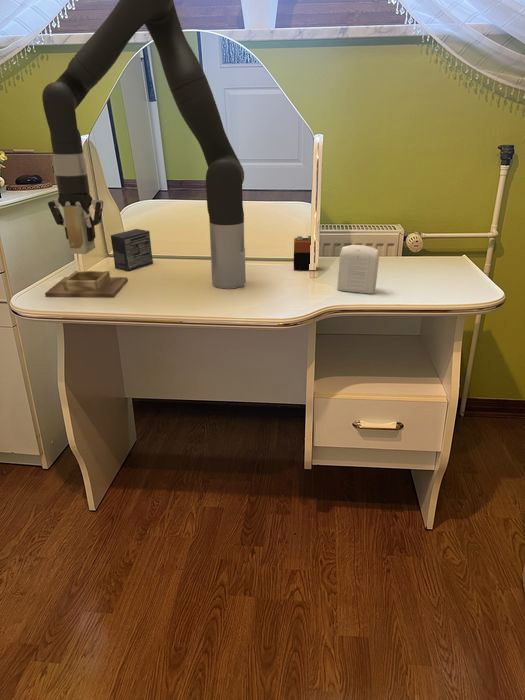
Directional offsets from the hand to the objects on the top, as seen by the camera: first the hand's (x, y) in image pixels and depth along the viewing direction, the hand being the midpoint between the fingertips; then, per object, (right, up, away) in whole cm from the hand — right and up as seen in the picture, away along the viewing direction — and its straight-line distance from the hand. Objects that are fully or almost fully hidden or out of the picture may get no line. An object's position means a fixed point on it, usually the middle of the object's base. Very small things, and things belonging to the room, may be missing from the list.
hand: (81, 240), depth 136 cm
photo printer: (+73, -13, +4) cm, 74 cm away
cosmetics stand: (0, -12, +6) cm, 13 cm away
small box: (+8, -3, +25) cm, 27 cm away
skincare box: (0, -3, +1) cm, 3 cm away
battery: (+61, -4, +22) cm, 65 cm away
